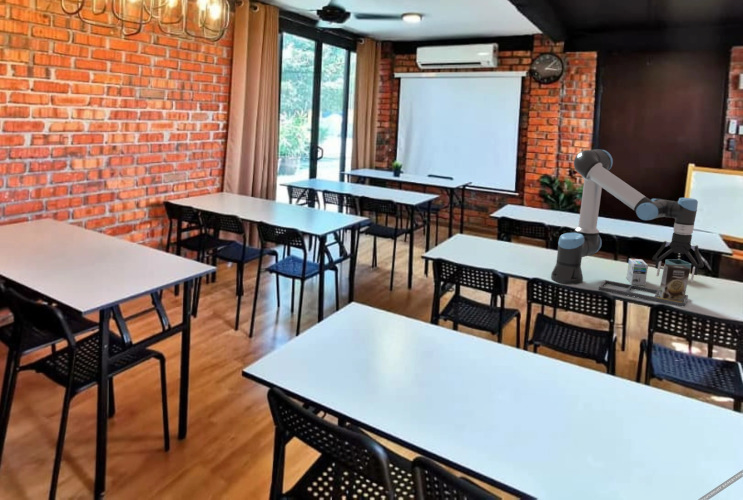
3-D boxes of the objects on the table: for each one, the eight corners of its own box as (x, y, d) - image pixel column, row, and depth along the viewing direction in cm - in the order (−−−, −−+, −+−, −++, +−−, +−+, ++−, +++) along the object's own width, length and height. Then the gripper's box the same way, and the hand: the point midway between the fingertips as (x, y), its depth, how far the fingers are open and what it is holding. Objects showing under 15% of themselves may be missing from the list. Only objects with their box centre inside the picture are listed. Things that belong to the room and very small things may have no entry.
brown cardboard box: (662, 301, 241) (668, 267, 237) (657, 296, 247) (663, 263, 243) (684, 303, 239) (690, 268, 235) (678, 298, 246) (685, 264, 241)
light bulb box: (645, 285, 262) (648, 264, 260) (630, 284, 264) (634, 263, 261) (639, 279, 273) (642, 259, 270) (625, 278, 274) (628, 258, 271)
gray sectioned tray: (598, 290, 254) (599, 286, 254) (604, 283, 265) (605, 279, 264) (684, 306, 235) (685, 303, 234) (687, 298, 245) (688, 294, 245)
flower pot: (689, 280, 272) (692, 264, 269) (673, 281, 271) (676, 264, 268) (677, 275, 280) (680, 259, 278) (662, 275, 279) (664, 259, 277)
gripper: (650, 230, 239) (642, 275, 244) (715, 238, 225) (705, 286, 231) (652, 227, 245) (645, 271, 250) (716, 235, 231) (706, 281, 237)
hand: (674, 278), depth 241 cm, fingers open, 13 cm apart
